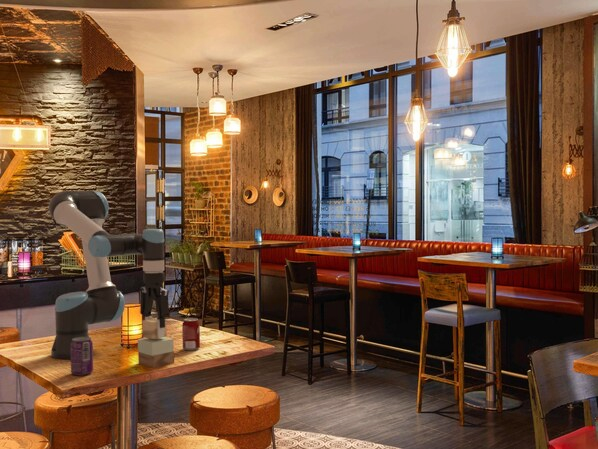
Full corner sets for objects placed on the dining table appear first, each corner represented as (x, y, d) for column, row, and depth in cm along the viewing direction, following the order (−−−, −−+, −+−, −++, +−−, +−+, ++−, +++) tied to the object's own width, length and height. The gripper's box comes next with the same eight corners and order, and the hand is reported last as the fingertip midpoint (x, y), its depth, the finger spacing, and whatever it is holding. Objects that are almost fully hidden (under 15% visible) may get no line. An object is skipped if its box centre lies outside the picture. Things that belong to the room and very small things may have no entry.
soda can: (196, 351, 243) (195, 321, 242) (179, 350, 244) (179, 320, 244) (202, 347, 249) (202, 317, 249) (186, 346, 251) (186, 317, 250)
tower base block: (154, 368, 219) (153, 355, 219) (138, 364, 225) (138, 351, 225) (174, 363, 226) (174, 350, 226) (158, 359, 232) (158, 347, 232)
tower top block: (152, 355, 219) (151, 343, 219) (138, 351, 225) (137, 339, 225) (173, 351, 226) (173, 338, 225) (159, 347, 232) (159, 335, 232)
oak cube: (153, 339, 221) (152, 322, 221) (142, 336, 225) (142, 320, 225) (166, 336, 226) (166, 319, 225) (156, 334, 229) (155, 317, 229)
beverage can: (95, 370, 216) (95, 336, 215) (89, 376, 209) (88, 340, 208) (75, 370, 216) (74, 336, 215) (68, 376, 208) (67, 341, 208)
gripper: (179, 272, 222) (180, 337, 222) (145, 269, 233) (146, 330, 234) (162, 274, 216) (163, 340, 216) (129, 271, 228) (130, 333, 228)
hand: (154, 335), depth 225 cm, fingers closed on oak cube, 6 cm apart
